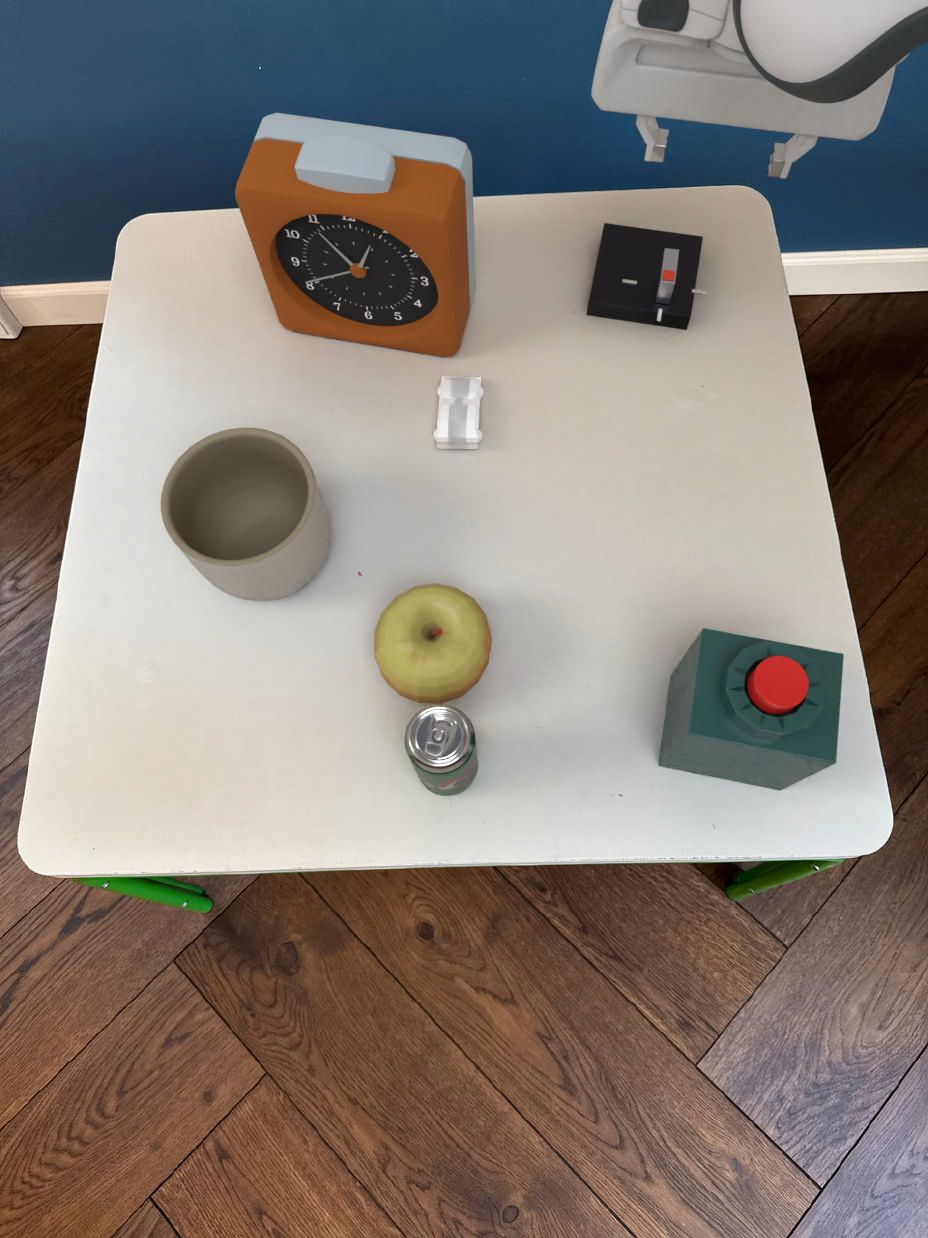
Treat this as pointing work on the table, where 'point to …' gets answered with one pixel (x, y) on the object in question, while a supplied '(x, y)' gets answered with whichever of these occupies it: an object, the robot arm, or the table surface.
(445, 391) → the toy car
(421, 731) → the soda can
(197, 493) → the planter
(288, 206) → the alarm clock
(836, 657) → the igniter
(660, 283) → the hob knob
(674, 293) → the black flat square piece
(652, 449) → the table surface
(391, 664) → the apple
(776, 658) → the button
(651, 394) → the table surface
